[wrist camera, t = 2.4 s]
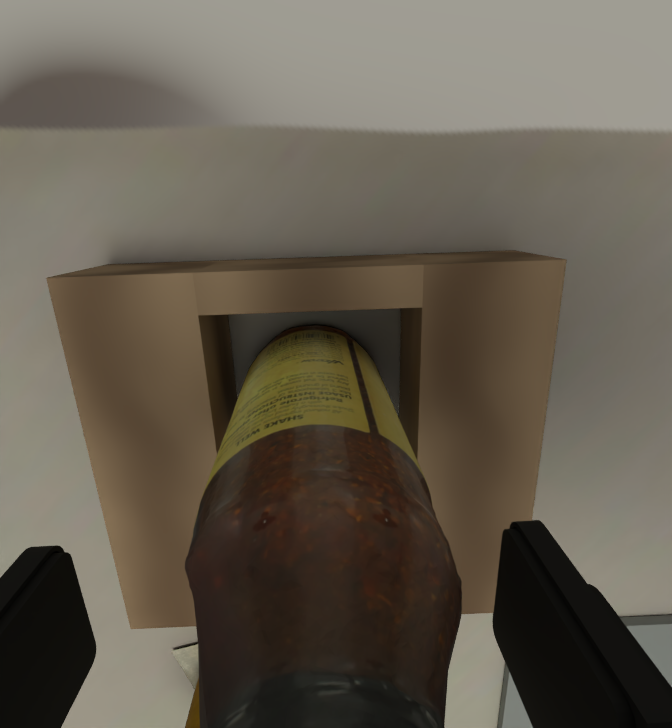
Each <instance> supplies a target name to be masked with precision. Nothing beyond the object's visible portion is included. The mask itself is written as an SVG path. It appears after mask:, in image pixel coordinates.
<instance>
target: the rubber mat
mask: <svg viewBox="0 0 672 728" xmlns="http://www.w3.org/2000/svg"><path fill="white" fill-rule="evenodd" d="M620 619H621V620H622V621H623V623H624V624H625V625H626V627H627V628H628V629H629V631H630V632H631V633H632V635H633V636H634V637H635V639H636V640H637V641H638V643H639V644H640V645H641V647H642V648H643V649H644V651H645V652H646V653H647V655H648V656H649V657H650V659H651V660H652V661H653V663H654V664H655V665H656V667H657V668H658V669H659V671H660V672H661V673H662V675H663V676H664V677H665V679H666V680H667V681H668V683H669V684H670V685H671V687H672V615H660V616H638V617H620ZM497 728H533V727H532V724H531V722H530V720H529V717H528V715H527V712H526V710H525V708H524V705H523V703H522V700H521V698H520V696H519V693H518V691H517V689H516V686H515V684H514V681H513V679H512V677H511V674H510V672H509V670H508V667H507V665H506V664H505V672H504V680H503V688H502V696H501V704H500V711H499V719H498V727H497Z"/></svg>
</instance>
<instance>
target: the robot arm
mask: <svg viewBox="0 0 672 728" xmlns="http://www.w3.org/2000/svg"><path fill="white" fill-rule="evenodd" d="M493 630H494V635H495V638H496V641H497V643H498V646H499V648H500V651H501V653H502V655H503V658H504V660H505V662H506V665H507V667H508V670H509V672H510V674H511V677H512V679H513V681H514V684H515V686H516V689H517V691H518V693H519V696H520V698H521V700H522V703H523V705H524V708H525V710H526V712H527V715H528V717H529V720H530V722H531V724H532V727H533V728H672V687H671V685H670V684H669V683H668V681H667V680H666V679H665V677H664V676H663V675H662V673H661V672H660V671H659V669H658V668H657V667H656V665H655V664H654V663H653V661H652V660H651V659H650V657H649V656H648V655H647V653H646V652H645V651H644V649H643V648H642V647H641V645H640V644H639V643H638V641H637V640H636V639H635V637H634V636H633V635H632V633H631V632H630V631H629V629H628V628H627V627H626V625H625V624H624V623H623V621H622V620H621V619H620V617H619V616H618V615H617V613H616V612H615V611H614V609H613V608H612V607H611V606H610V604H609V603H608V602H607V600H606V599H605V598H604V596H603V595H602V594H601V593H600V592H599V590H598V589H597V588H596V587H594V586H592V585H591V584H587V583H586V582H585V580H584V579H583V577H582V576H581V575H580V573H579V572H578V571H577V569H576V568H575V567H574V565H573V564H572V562H571V561H570V560H569V558H568V557H567V556H566V554H565V553H564V551H563V550H562V549H561V547H560V546H559V545H558V543H557V542H556V541H555V539H554V538H553V536H552V535H551V534H550V532H549V531H548V530H547V528H546V527H545V526H544V524H543V523H542V522H541V521H539V520H534V521H515V522H512V523H511V524H510V528H509V529H504V530H503V533H502V541H501V550H500V559H499V568H498V577H497V586H496V595H495V604H494V613H493ZM95 655H96V642H95V639H94V635H93V632H92V628H91V625H90V621H89V617H88V614H87V610H86V607H85V603H84V600H83V596H82V593H81V589H80V586H79V582H78V578H77V575H76V571H75V568H74V564H73V561H72V557H71V555H70V554H69V553H66V552H64V550H63V548H62V547H60V546H41V547H30V548H27V549H26V550H25V551H24V552H23V553H22V554H21V555H20V556H19V557H18V558H17V559H16V561H15V562H14V563H13V564H12V565H11V566H10V567H9V569H8V570H7V571H6V572H5V573H4V574H3V575H2V577H1V578H0V728H61V726H62V724H63V722H64V720H65V718H66V716H67V714H68V712H69V710H70V708H71V706H72V704H73V702H74V700H75V698H76V696H77V695H78V693H79V691H80V689H81V687H82V685H83V683H84V681H85V679H86V677H87V675H88V673H89V671H90V669H91V667H92V664H93V662H94V659H95Z"/></svg>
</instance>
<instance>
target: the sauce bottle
mask: <svg viewBox="0 0 672 728" xmlns="http://www.w3.org/2000/svg"><path fill="white" fill-rule="evenodd" d="M185 571H186V574H187V577H188V580H189V587H190V589H191V591H192V595H193V600H194V608H195V617H196V627H197V636H198V661H199V716H200V728H444V720H445V706H446V693H447V677H448V669H449V664H450V660H451V656H452V652H453V648H454V644H455V640H456V635H457V632H458V628H459V624H460V619H461V612H462V589H461V586H462V581H461V578H460V577H459V575H458V573H457V569H456V565H455V562H454V559H453V556H452V552H451V549H450V546H449V542H448V540H447V539H446V537H445V535H444V533H443V531H442V528H441V526H440V525H439V523H438V520H437V518H436V513H435V511H434V509H433V506H432V499H431V495H430V490H429V487H428V484H427V482H426V479H425V477H424V475H423V473H422V470H421V468H420V466H419V463H418V461H417V459H416V457H415V454H414V452H413V450H412V447H411V445H410V443H409V441H408V438H407V436H406V434H405V431H404V429H403V427H402V425H401V422H400V420H399V418H398V415H397V413H396V411H395V409H394V406H393V404H392V402H391V399H390V397H389V395H388V392H387V390H386V388H385V385H384V383H383V381H382V378H381V376H380V374H379V372H378V369H377V367H376V365H375V363H374V362H373V360H372V358H371V357H370V356H369V355H368V353H367V352H366V351H365V350H364V349H363V348H362V347H361V346H360V345H358V344H357V342H356V341H354V340H353V339H351V338H350V336H349V335H347V334H346V333H345V332H343V331H341V330H338V329H335V328H331V327H328V326H319V325H314V326H305V327H297V328H291V329H289V330H286V331H283V332H282V333H281V334H280V335H278V336H277V337H276V338H275V339H274V340H272V341H271V342H270V343H269V344H268V345H267V346H266V347H265V348H264V349H263V350H262V351H261V352H260V354H259V355H258V356H257V358H256V359H255V361H254V362H253V363H252V365H251V366H250V368H249V370H248V373H247V375H246V378H245V381H244V384H243V386H242V389H241V391H240V394H239V397H238V400H237V402H236V405H235V408H234V411H233V414H232V417H231V420H230V422H229V425H228V428H227V430H226V433H225V435H224V438H223V441H222V443H221V446H220V449H219V451H218V454H217V457H216V460H215V462H214V465H213V468H212V471H211V473H210V476H209V479H208V482H207V484H206V487H205V490H204V493H203V496H202V498H201V501H200V505H199V508H198V512H197V516H196V520H195V524H194V529H193V537H192V541H191V545H190V548H189V552H188V555H187V557H186V560H185Z"/></svg>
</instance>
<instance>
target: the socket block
mask: <svg viewBox="0 0 672 728" xmlns="http://www.w3.org/2000/svg"><path fill="white" fill-rule="evenodd" d="M566 261H567V260H565V259H560V258H554V257H548V256H543V255H537V254H531V253H526V252H520V251H514V250H512V251H483V252H453V253H424V254H395V255H366V256H337V257H308V258H279V259H250V260H221V261H192V262H163V263H134V264H107V265H103V266H98V267H94V268H89V269H85V270H80V271H75V272H71V273H66V274H62V275H57V276H52V277H48V278H46V279H47V283H48V287H49V291H50V295H51V300H52V304H53V308H54V312H55V316H56V320H57V324H58V329H59V333H60V337H61V341H62V345H63V349H64V354H65V358H66V362H67V366H68V370H69V374H70V378H71V383H72V387H73V391H74V395H75V399H76V403H77V408H78V412H79V416H80V420H81V424H82V428H83V432H84V437H85V441H86V445H87V449H88V453H89V457H90V461H91V466H92V470H93V474H94V478H95V482H96V486H97V491H98V495H99V499H100V503H101V507H102V511H103V515H104V520H105V524H106V528H107V532H108V536H109V540H110V545H111V549H112V553H113V557H114V561H115V565H116V569H117V574H118V578H119V582H120V586H121V590H122V594H123V599H124V603H125V607H126V611H127V615H128V619H129V623H130V628H131V629H142V628H164V627H187V626H196V617H195V608H194V600H193V595H192V591H191V589H190V587H189V580H188V577H187V574H186V571H185V560H186V557H187V555H188V552H189V548H190V545H191V541H192V537H193V529H194V524H195V520H196V516H197V512H198V508H199V505H200V501H201V498H202V496H203V493H204V490H205V487H206V484H207V482H208V479H209V476H210V473H211V471H212V468H213V465H214V462H215V460H216V457H217V454H218V451H219V449H220V446H221V443H222V441H223V438H224V435H225V433H226V430H227V428H228V425H229V422H230V420H231V417H232V414H233V411H234V408H235V405H236V402H237V392H236V384H235V375H234V366H233V357H232V348H231V339H230V330H229V321H228V314H254V313H282V312H310V311H337V310H365V309H393V308H401V347H400V408H399V420H400V422H401V425H402V427H403V429H404V431H405V434H406V436H407V438H408V441H409V443H410V445H411V447H412V450H413V452H414V454H415V457H416V459H417V461H418V463H419V466H420V468H421V470H422V473H423V475H424V477H425V479H426V482H427V484H428V487H429V490H430V495H431V499H432V506H433V509H434V511H435V513H436V518H437V520H438V523H439V525H440V526H441V528H442V531H443V533H444V535H445V537H446V539H447V540H448V542H449V546H450V549H451V552H452V556H453V559H454V562H455V565H456V569H457V573H458V575H459V577H460V578H461V581H462V586H461V589H462V612H461V614H474V613H494V604H495V595H496V586H497V577H498V568H499V559H500V550H501V541H502V533H503V530H504V529H509V528H510V524H511V523H512V522H515V521H532V515H533V507H534V500H535V492H536V485H537V477H538V470H539V463H540V455H541V448H542V440H543V433H544V425H545V418H546V410H547V403H548V395H549V388H550V380H551V373H552V366H553V358H554V351H555V343H556V336H557V328H558V321H559V313H560V306H561V298H562V291H563V283H564V276H565V268H566Z"/></svg>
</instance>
